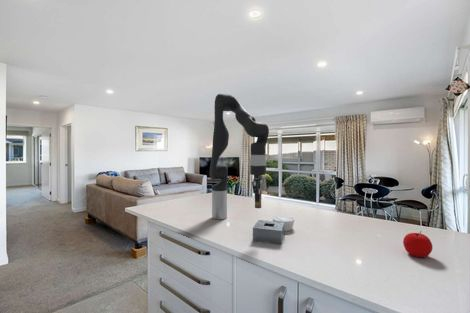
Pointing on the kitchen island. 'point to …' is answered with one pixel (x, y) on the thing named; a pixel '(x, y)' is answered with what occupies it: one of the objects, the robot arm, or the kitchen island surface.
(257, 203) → the walnut peg
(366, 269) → the kitchen island surface
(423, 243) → the fruit
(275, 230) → the hole block
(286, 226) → the ramekin
